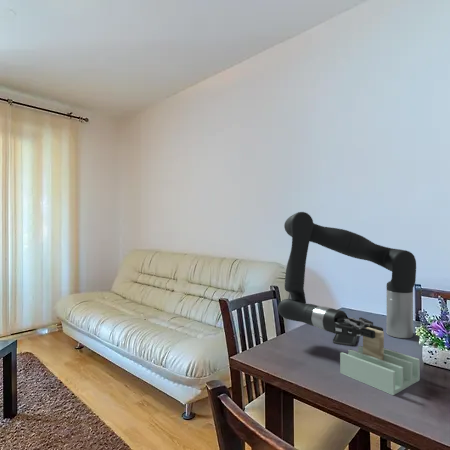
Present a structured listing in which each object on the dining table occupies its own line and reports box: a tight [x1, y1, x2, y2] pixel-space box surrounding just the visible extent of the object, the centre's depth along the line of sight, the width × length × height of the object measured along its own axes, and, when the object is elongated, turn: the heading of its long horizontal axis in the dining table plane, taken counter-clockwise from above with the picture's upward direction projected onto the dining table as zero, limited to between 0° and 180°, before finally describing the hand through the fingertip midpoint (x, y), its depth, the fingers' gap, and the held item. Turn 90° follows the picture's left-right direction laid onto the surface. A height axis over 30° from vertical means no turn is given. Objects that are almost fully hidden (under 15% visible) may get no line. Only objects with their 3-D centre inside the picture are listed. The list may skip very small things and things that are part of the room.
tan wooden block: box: [362, 327, 385, 361], centre depth 101 cm, size 2×5×12 cm, turn 35°
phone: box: [332, 334, 359, 347], centre depth 132 cm, size 8×1×15 cm
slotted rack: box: [339, 345, 421, 396], centre depth 100 cm, size 14×16×6 cm
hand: (378, 333), depth 100 cm, fingers open, 3 cm apart
